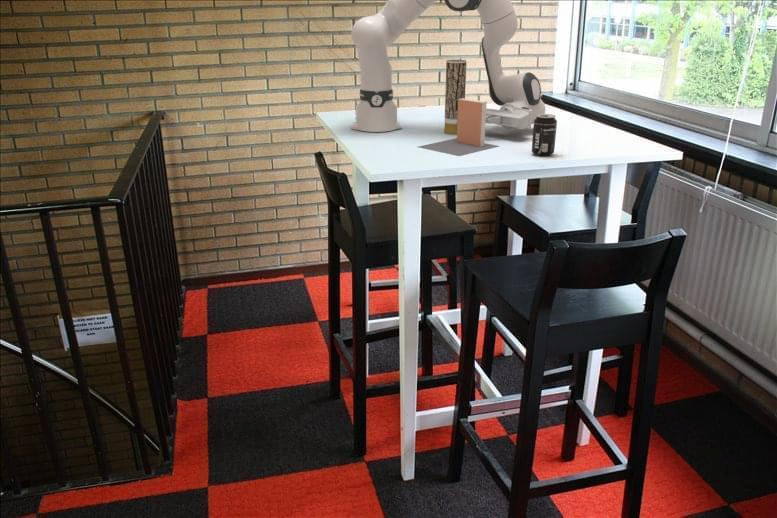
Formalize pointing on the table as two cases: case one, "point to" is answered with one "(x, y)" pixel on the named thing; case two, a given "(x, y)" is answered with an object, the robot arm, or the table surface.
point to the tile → (471, 122)
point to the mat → (456, 147)
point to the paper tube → (454, 93)
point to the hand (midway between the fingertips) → (486, 120)
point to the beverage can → (544, 135)
